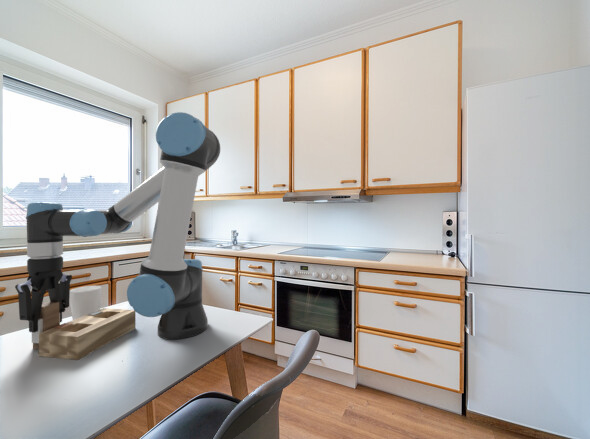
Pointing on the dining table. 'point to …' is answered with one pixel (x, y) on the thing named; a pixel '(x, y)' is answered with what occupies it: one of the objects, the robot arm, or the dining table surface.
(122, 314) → the box
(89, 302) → the cup
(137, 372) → the dining table surface
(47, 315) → the plug
